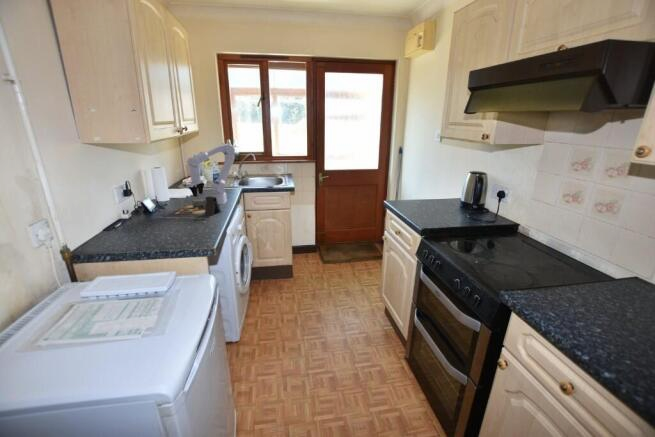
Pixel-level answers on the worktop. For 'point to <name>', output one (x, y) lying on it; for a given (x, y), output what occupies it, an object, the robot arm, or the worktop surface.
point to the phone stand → (211, 206)
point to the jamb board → (191, 210)
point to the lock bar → (199, 203)
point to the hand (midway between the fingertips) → (198, 195)
